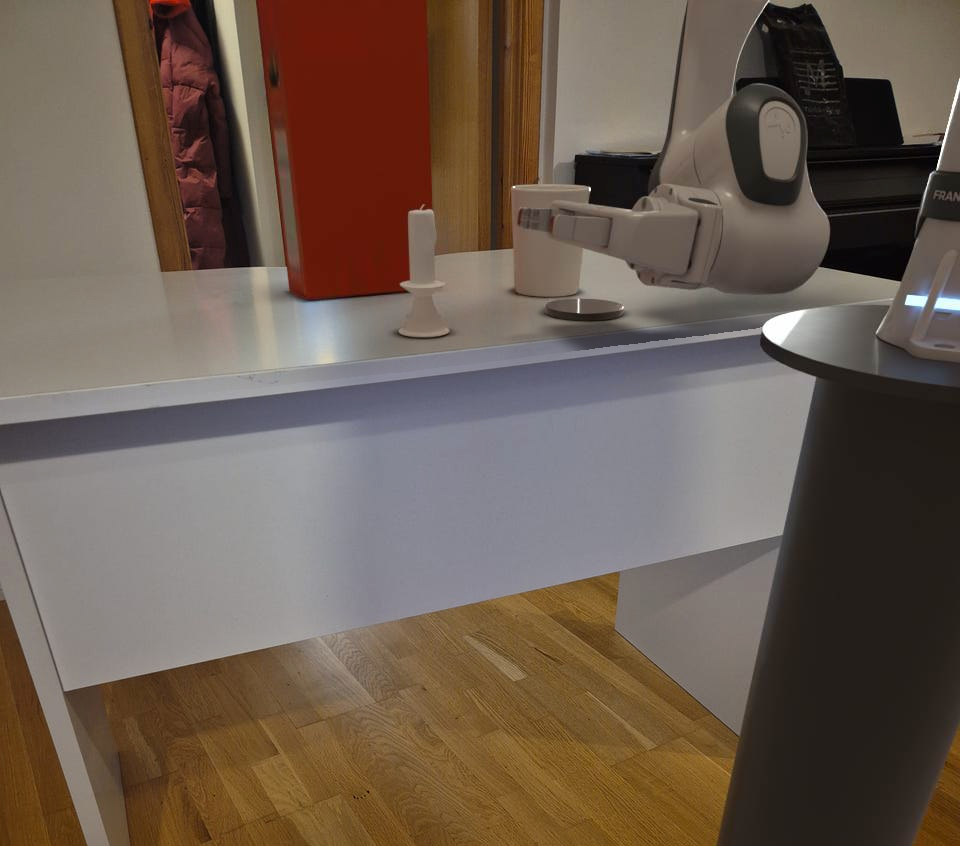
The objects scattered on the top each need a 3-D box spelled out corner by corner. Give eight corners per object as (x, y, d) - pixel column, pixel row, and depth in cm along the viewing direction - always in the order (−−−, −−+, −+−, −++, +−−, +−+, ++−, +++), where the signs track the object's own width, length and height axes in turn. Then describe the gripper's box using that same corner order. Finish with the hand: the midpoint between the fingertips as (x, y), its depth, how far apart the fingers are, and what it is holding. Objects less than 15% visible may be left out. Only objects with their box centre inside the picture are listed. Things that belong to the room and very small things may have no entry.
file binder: (288, 291, 109) (253, -21, 92) (409, 280, 116) (397, -11, 99) (308, 301, 103) (275, -30, 86) (435, 289, 110) (427, -19, 93)
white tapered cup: (513, 283, 114) (515, 183, 107) (586, 286, 112) (592, 184, 106) (503, 297, 105) (505, 189, 99) (581, 299, 104) (588, 190, 98)
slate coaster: (637, 312, 97) (638, 305, 97) (592, 324, 92) (592, 316, 91) (576, 302, 102) (576, 295, 102) (529, 313, 97) (529, 305, 96)
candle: (440, 325, 91) (437, 201, 84) (456, 336, 87) (454, 206, 80) (392, 329, 89) (386, 203, 83) (406, 339, 85) (401, 207, 79)
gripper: (631, 194, 87) (505, 177, 83) (732, 207, 70) (581, 186, 66) (619, 260, 90) (497, 247, 86) (714, 287, 73) (568, 272, 69)
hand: (534, 221), depth 76 cm, fingers open, 8 cm apart
